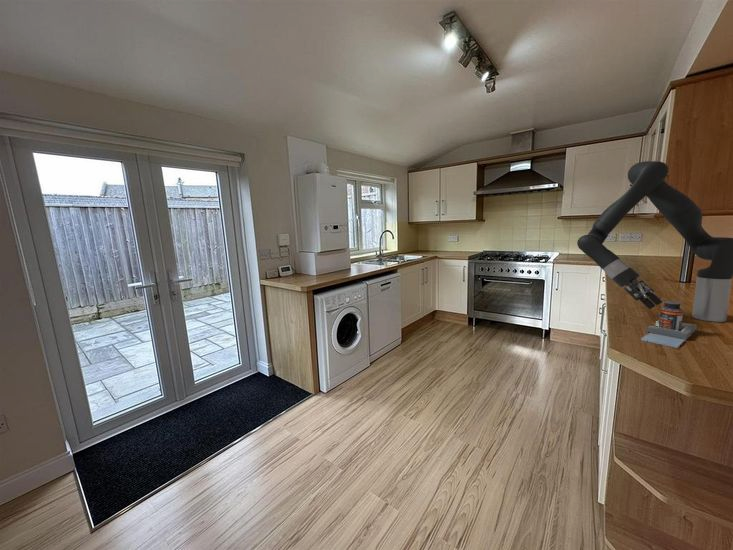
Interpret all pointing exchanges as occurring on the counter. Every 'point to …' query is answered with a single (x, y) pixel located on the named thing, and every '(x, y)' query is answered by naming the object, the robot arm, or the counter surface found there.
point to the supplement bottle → (670, 316)
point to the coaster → (663, 340)
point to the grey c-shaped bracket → (674, 331)
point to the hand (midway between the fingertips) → (656, 305)
